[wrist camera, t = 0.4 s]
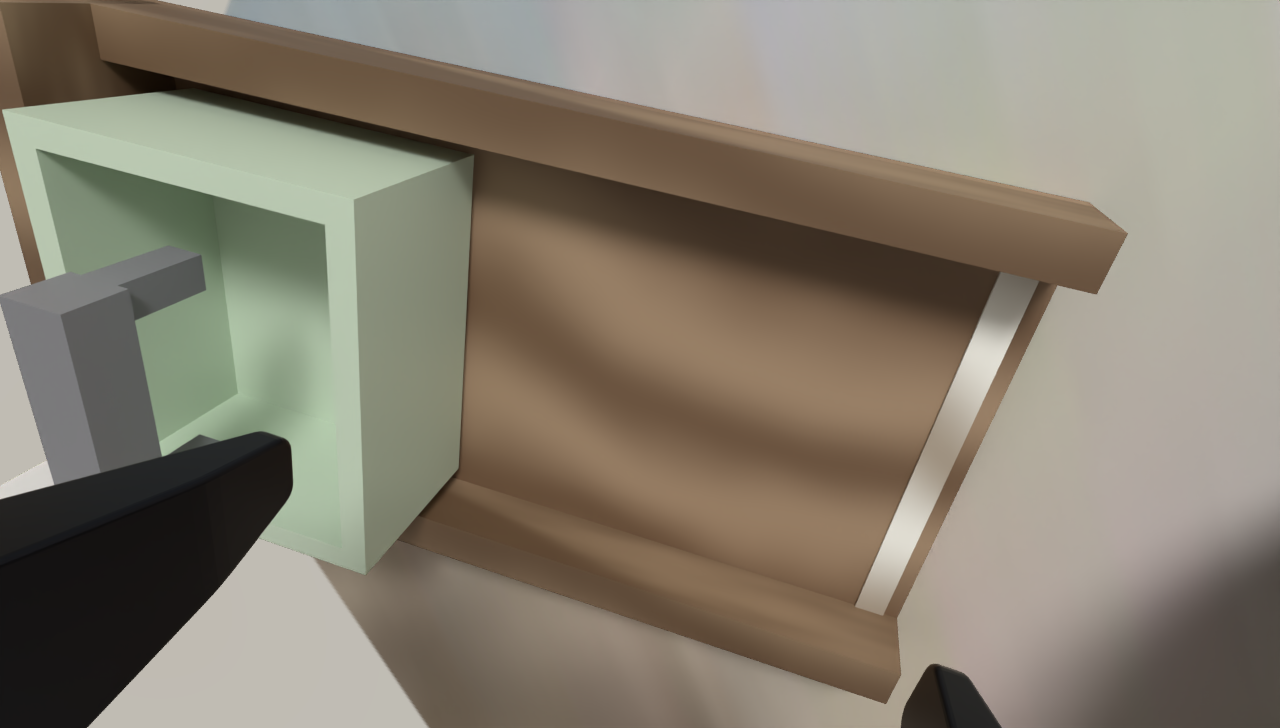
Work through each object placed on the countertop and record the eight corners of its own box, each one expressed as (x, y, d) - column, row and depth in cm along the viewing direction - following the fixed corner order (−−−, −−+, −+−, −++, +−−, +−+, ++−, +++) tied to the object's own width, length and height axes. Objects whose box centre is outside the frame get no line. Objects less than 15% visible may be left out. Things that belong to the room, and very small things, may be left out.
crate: (458, 468, 27) (275, 680, 19) (234, 397, 29) (-32, 562, 20) (474, 154, 22) (219, 249, 13) (193, 87, 23) (-203, 132, 14)
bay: (882, 636, 26) (889, 773, 22) (204, 417, 31) (87, 491, 26) (1089, 202, 18) (1171, 267, 14) (137, -4, 23) (-49, -9, 18)
